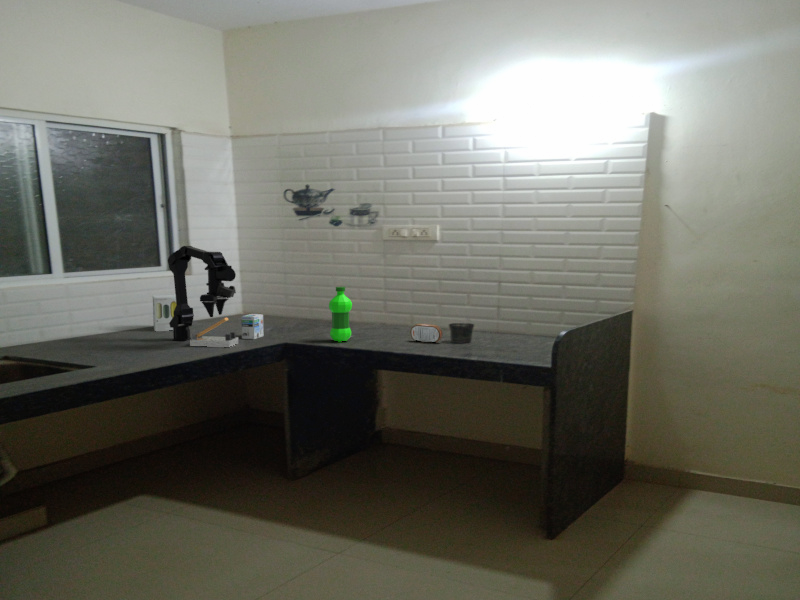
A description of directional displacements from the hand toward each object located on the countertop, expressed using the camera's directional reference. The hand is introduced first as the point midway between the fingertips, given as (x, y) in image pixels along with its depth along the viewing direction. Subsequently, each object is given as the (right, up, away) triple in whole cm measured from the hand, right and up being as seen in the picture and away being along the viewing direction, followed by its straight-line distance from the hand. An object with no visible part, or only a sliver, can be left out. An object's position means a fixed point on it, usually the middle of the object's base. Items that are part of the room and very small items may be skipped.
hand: (216, 315), depth 279 cm
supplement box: (-39, -8, +49) cm, 63 cm away
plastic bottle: (+54, -12, +12) cm, 57 cm away
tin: (+93, -13, +10) cm, 94 cm away
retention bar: (-2, -6, +1) cm, 6 cm away
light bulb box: (+11, -11, +23) cm, 28 cm away
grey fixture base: (-1, -13, +1) cm, 13 cm away
